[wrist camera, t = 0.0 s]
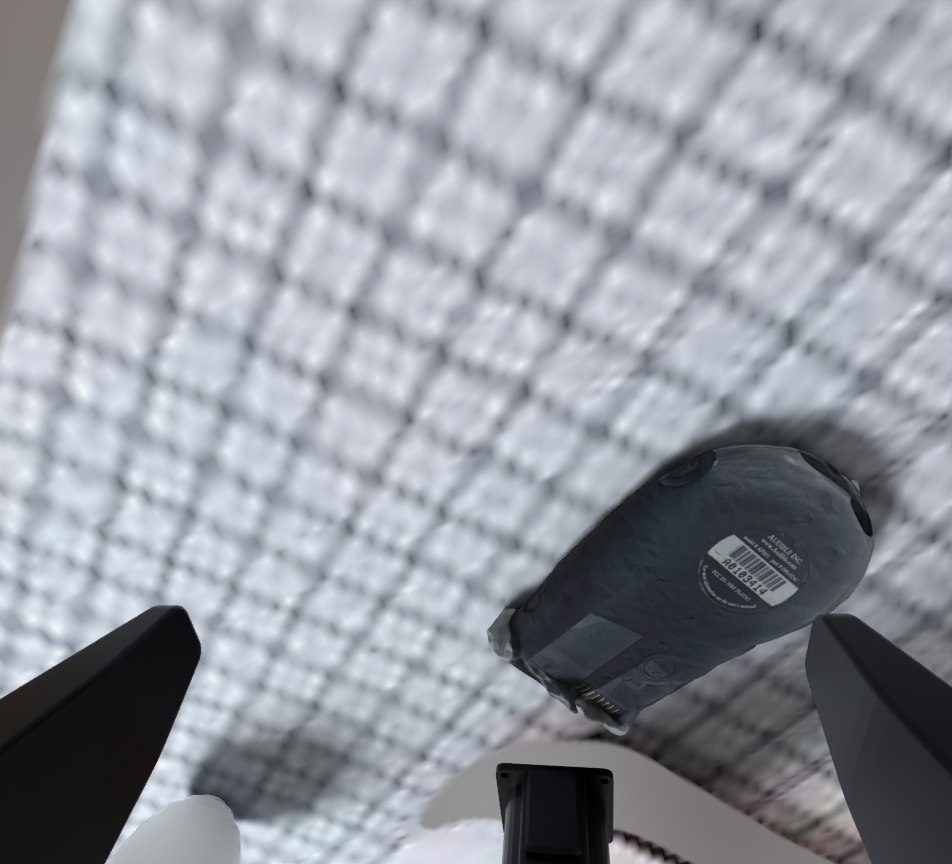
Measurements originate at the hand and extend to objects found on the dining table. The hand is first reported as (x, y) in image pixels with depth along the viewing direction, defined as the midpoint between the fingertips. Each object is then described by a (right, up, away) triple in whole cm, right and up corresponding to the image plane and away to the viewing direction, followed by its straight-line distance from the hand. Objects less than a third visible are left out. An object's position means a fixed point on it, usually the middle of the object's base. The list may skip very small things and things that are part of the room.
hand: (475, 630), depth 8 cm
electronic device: (+9, -3, +18) cm, 20 cm away
